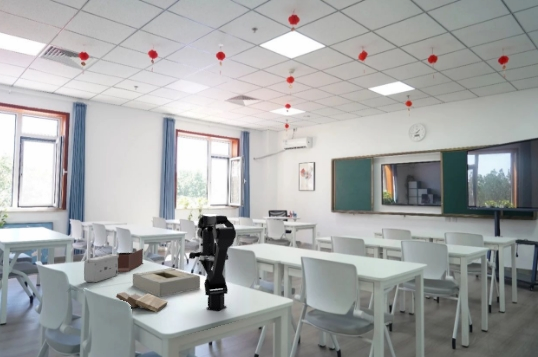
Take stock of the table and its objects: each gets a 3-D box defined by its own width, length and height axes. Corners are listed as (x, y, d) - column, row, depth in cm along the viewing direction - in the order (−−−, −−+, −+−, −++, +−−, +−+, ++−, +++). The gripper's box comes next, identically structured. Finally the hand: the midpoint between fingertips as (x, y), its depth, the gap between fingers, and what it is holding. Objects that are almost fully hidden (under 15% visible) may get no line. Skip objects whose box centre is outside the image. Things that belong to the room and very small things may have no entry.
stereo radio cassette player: (108, 275, 228) (108, 242, 229) (119, 275, 226) (120, 243, 227) (83, 282, 208) (83, 247, 209) (95, 283, 206) (95, 247, 207)
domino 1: (141, 302, 162) (124, 291, 165) (135, 304, 158) (117, 293, 160) (140, 305, 162) (122, 295, 165) (133, 307, 158) (115, 296, 160)
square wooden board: (167, 301, 164) (148, 293, 165) (157, 308, 153) (136, 299, 155) (166, 304, 164) (146, 296, 165) (156, 312, 153) (135, 303, 155)
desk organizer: (113, 272, 237) (113, 254, 237) (129, 264, 266) (129, 248, 266) (129, 272, 237) (129, 254, 237) (143, 263, 266) (143, 248, 267)
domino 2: (153, 303, 161) (135, 293, 164) (147, 305, 156) (128, 296, 159) (152, 306, 161) (134, 296, 164) (146, 309, 156) (127, 299, 159)
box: (200, 289, 193) (170, 279, 216) (200, 274, 193) (170, 266, 216) (160, 298, 177) (132, 287, 199) (160, 282, 177) (131, 272, 200)
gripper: (234, 240, 174) (234, 273, 173) (202, 238, 182) (202, 269, 181) (221, 242, 164) (221, 277, 163) (188, 240, 172) (188, 274, 171)
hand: (208, 274), depth 170 cm, fingers closed
